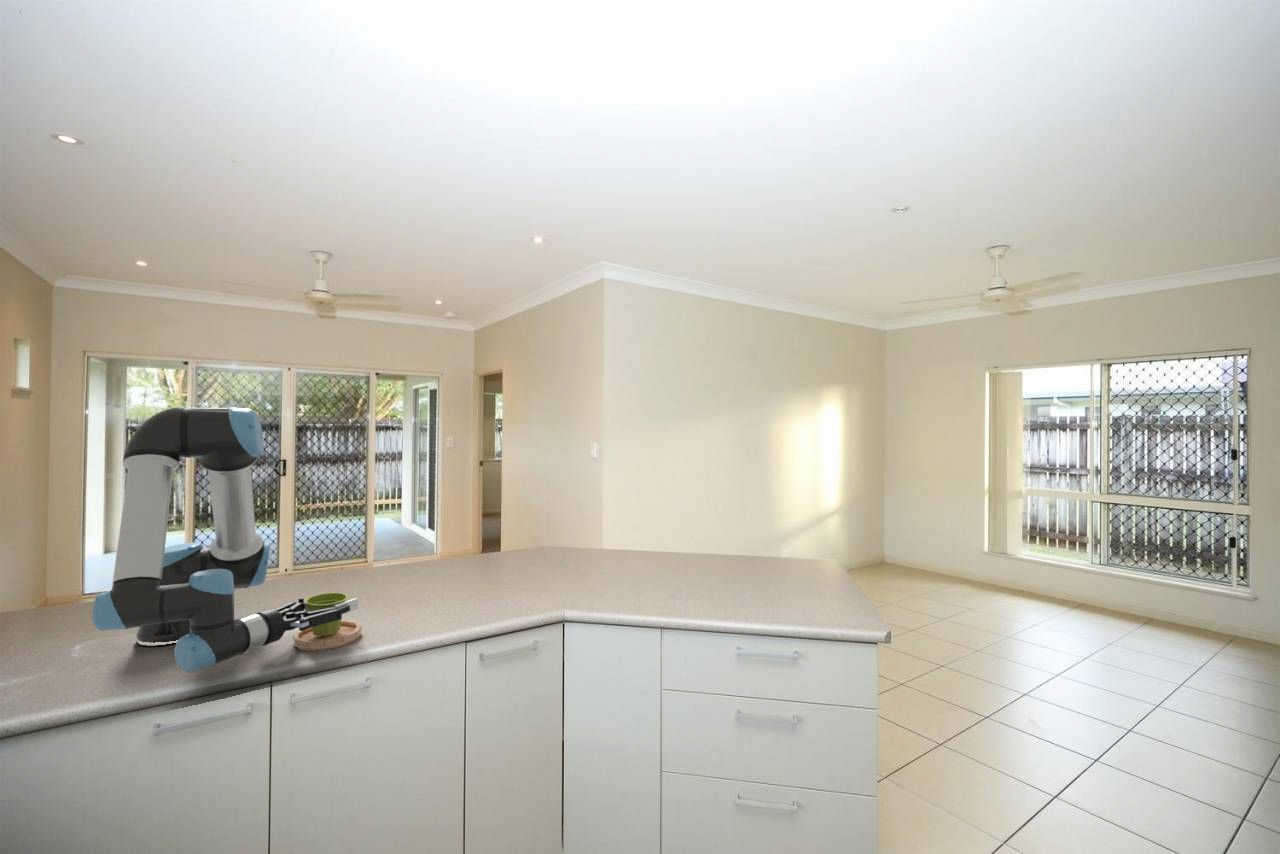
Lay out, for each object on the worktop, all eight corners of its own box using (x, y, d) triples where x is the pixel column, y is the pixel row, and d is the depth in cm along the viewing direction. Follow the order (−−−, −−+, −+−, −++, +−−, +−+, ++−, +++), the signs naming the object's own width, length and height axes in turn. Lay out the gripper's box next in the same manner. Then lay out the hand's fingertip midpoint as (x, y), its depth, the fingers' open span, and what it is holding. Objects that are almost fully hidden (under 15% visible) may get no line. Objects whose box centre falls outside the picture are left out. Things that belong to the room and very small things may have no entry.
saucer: (279, 645, 142) (279, 636, 142) (332, 625, 156) (332, 617, 156) (323, 654, 137) (323, 645, 137) (373, 633, 151) (373, 624, 151)
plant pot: (315, 642, 140) (315, 607, 140) (298, 632, 146) (298, 598, 145) (353, 631, 147) (354, 598, 147) (336, 622, 153) (336, 590, 153)
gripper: (226, 639, 134) (312, 610, 155) (293, 653, 126) (374, 620, 147) (225, 607, 134) (312, 582, 155) (292, 619, 126) (374, 591, 147)
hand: (342, 601), depth 151 cm, fingers open, 9 cm apart
